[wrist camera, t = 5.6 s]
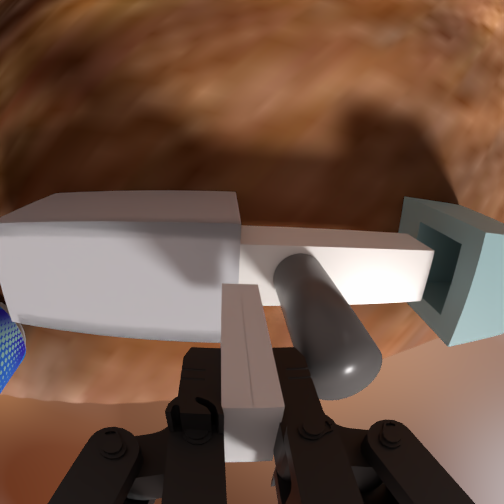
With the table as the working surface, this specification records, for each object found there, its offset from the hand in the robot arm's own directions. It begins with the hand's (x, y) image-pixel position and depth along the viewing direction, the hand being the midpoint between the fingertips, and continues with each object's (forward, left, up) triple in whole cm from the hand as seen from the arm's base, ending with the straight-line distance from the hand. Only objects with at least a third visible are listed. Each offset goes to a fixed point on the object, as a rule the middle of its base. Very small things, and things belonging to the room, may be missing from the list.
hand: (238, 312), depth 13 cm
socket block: (0, +18, -11) cm, 21 cm away
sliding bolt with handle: (0, 0, -7) cm, 7 cm away
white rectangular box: (0, -7, -11) cm, 13 cm away
